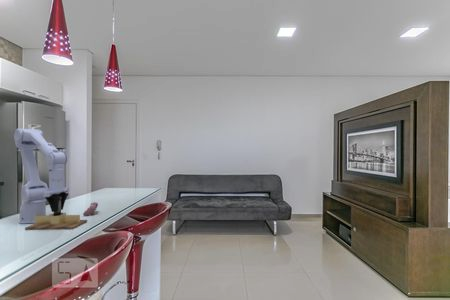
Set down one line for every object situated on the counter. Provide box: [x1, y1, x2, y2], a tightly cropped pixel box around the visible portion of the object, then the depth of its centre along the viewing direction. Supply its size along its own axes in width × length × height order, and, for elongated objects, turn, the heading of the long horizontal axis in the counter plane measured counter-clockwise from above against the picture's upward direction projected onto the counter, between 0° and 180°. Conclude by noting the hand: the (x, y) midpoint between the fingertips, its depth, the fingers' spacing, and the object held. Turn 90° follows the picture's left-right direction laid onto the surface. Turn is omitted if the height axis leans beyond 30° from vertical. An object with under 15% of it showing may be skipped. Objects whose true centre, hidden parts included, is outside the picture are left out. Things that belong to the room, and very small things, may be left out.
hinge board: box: [24, 219, 88, 231], centre depth 115 cm, size 20×11×1 cm, turn 90°
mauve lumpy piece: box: [82, 201, 99, 217], centre depth 137 cm, size 10×5×7 cm, turn 17°
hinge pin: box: [53, 197, 62, 215], centre depth 115 cm, size 3×3×8 cm
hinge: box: [34, 212, 81, 226], centre depth 115 cm, size 19×6×4 cm, turn 90°
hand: (57, 210), depth 115 cm, fingers closed on hinge pin, 3 cm apart
